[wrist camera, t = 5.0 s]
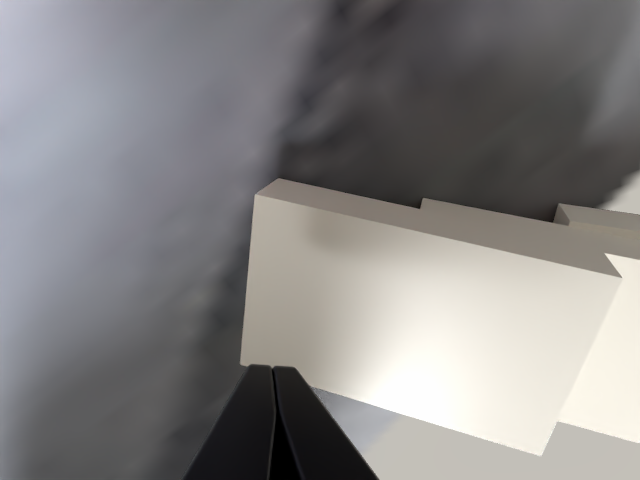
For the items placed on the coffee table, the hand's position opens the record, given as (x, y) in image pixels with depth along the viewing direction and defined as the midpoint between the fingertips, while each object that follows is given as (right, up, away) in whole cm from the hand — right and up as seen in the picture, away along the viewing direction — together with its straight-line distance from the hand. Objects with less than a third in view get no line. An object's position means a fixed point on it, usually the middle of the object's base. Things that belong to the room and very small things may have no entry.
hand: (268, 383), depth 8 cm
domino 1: (-1, +2, +4) cm, 5 cm away
